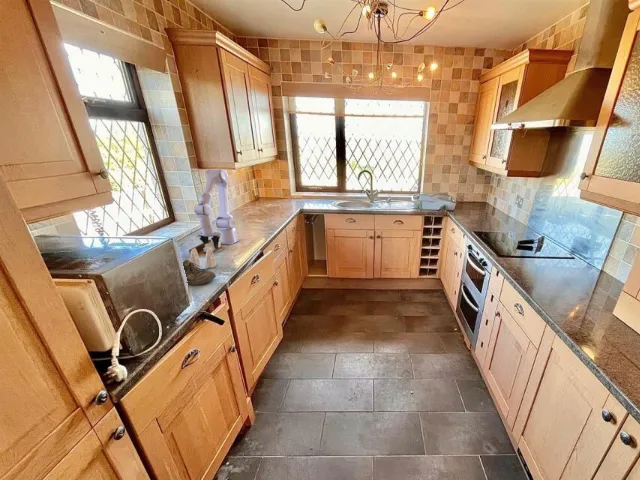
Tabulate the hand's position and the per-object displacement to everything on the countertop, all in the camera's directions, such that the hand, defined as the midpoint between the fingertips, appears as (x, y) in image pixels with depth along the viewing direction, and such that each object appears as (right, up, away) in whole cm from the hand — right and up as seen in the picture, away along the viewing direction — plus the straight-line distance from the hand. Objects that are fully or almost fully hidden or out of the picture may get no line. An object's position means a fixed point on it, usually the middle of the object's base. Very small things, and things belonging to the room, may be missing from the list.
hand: (212, 248), depth 183 cm
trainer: (0, -1, +1) cm, 1 cm away
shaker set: (+10, -14, -25) cm, 30 cm away
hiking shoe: (+14, -21, -40) cm, 47 cm away
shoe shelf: (-2, -1, +1) cm, 2 cm away
